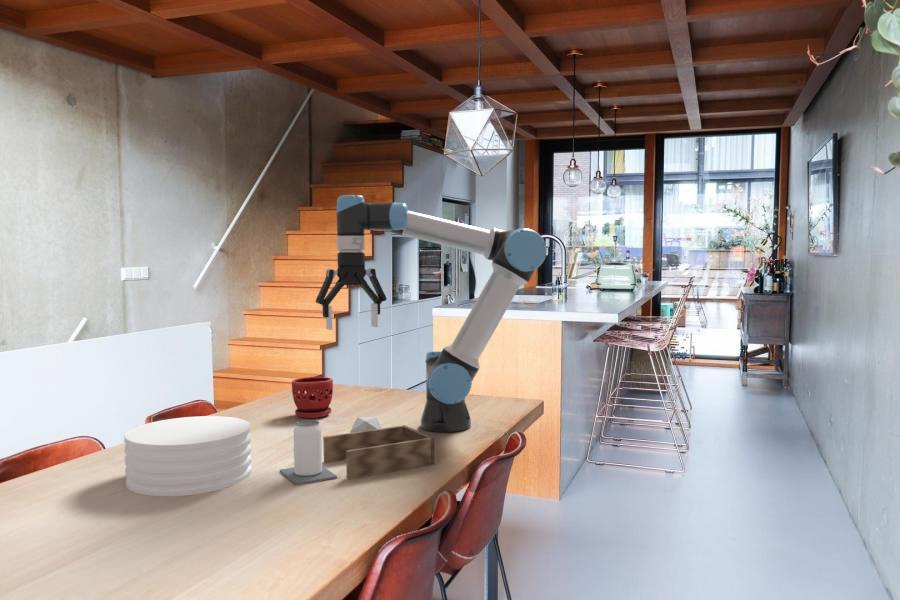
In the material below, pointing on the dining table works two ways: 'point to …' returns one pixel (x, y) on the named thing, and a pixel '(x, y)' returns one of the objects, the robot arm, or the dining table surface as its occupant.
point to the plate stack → (187, 455)
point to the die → (365, 424)
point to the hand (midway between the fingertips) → (352, 328)
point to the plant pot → (312, 396)
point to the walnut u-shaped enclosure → (379, 450)
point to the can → (307, 448)
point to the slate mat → (300, 480)
